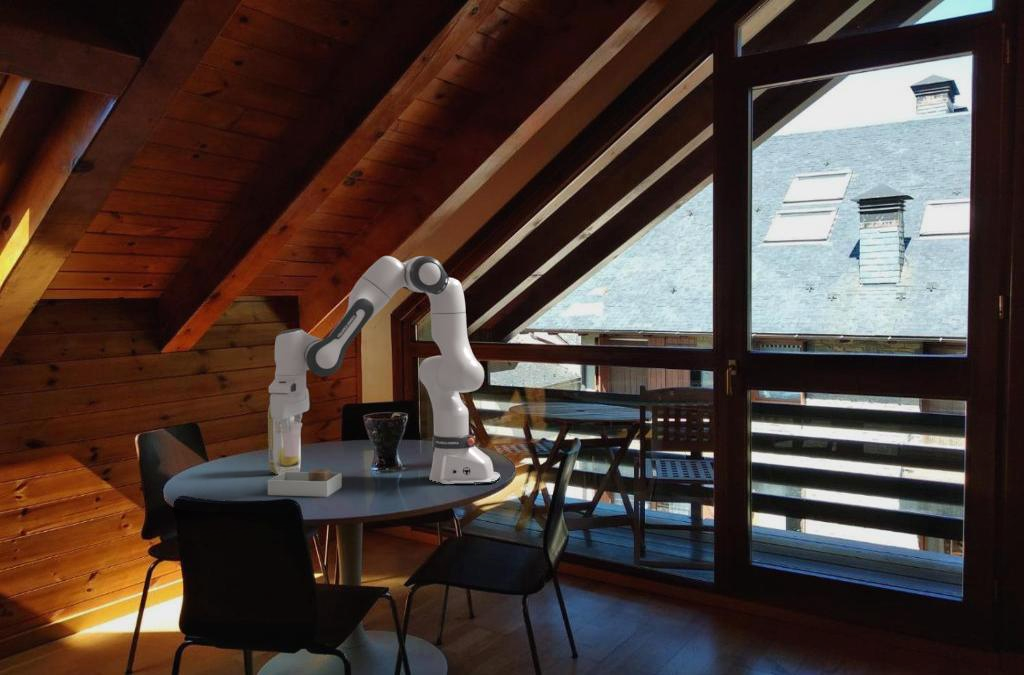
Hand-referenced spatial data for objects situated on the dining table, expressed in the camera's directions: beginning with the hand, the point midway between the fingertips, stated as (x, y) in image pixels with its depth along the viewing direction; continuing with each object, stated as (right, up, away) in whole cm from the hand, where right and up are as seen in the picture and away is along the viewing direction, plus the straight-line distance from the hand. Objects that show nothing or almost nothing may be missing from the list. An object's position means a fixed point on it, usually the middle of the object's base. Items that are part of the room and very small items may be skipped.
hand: (291, 430), depth 242 cm
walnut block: (+8, -18, 0) cm, 20 cm away
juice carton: (-10, -17, +30) cm, 36 cm away
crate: (+4, -19, 0) cm, 19 cm away
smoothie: (0, -8, 0) cm, 8 cm away
